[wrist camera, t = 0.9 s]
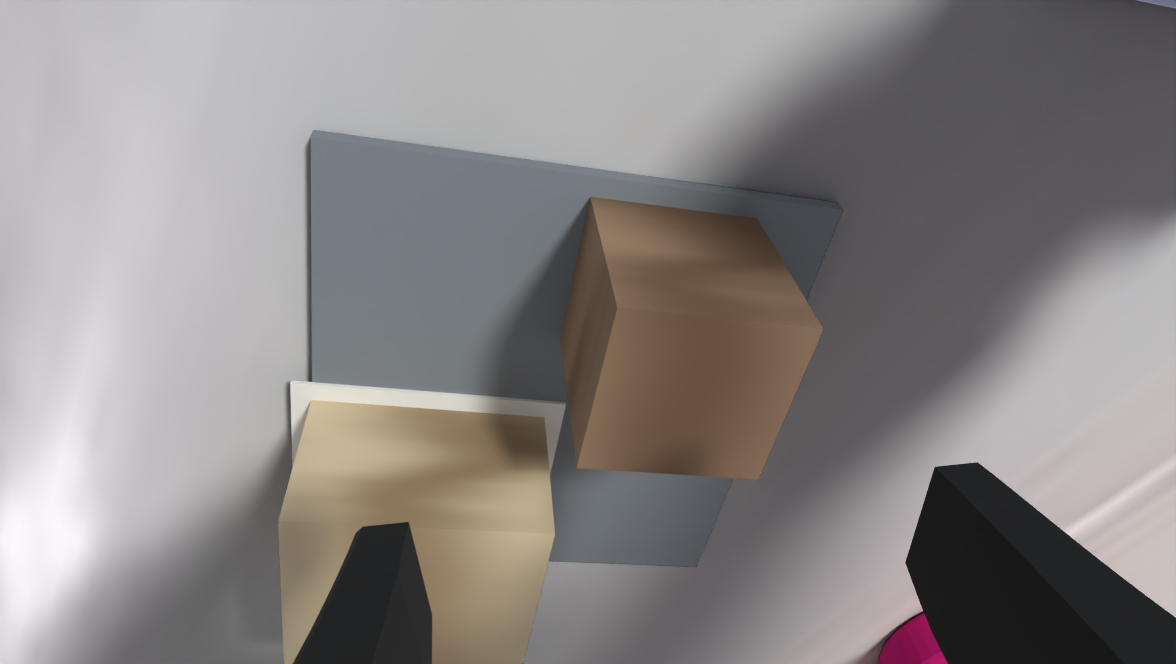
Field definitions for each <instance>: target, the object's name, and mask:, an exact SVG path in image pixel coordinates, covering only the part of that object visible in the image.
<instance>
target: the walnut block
mask: <svg viewBox="0 0 1176 664" xmlns="http://www.w3.org/2000/svg"><path fill="white" fill-rule="evenodd" d="M822 332H823V327H822V326H821V324H820V322H819V321H818V319H817V317H816V316H815V314H814V312H813V311H812V309H811V307H810V306H809V304H808V302H807V301H806V299H805V297H804V296H803V294H802V292H801V291H800V289H799V287H798V286H797V284H796V282H795V281H794V279H793V277H792V276H791V274H790V272H789V271H788V269H787V267H786V266H785V264H784V262H783V261H782V259H781V257H780V256H779V254H778V252H777V251H776V249H775V247H774V246H773V244H772V242H771V241H770V239H769V237H768V236H767V234H766V232H765V231H764V229H763V227H762V226H761V224H760V222H759V221H758V219H757V218H749V217H742V216H734V215H726V214H719V213H711V212H704V211H696V210H688V209H681V208H673V207H665V206H658V205H650V204H643V203H635V202H627V201H620V200H612V199H605V198H597V197H590V200H589V205H588V210H587V215H586V219H585V224H584V229H583V234H582V238H581V243H580V248H579V253H578V257H577V262H576V267H575V272H574V276H573V281H572V286H571V291H570V295H569V300H568V305H567V310H566V314H565V319H564V324H563V329H562V333H561V338H560V344H561V351H562V359H563V367H564V374H565V382H566V390H567V398H568V405H569V413H570V421H571V428H572V436H573V444H574V451H575V459H576V467H577V468H581V469H597V470H613V471H629V472H645V473H661V474H677V475H693V476H709V477H724V478H740V479H756V480H758V479H759V476H760V474H761V472H762V469H763V467H764V465H765V463H766V460H767V458H768V456H769V453H770V451H771V449H772V446H773V444H774V442H775V440H776V437H777V435H778V433H779V430H780V428H781V426H782V423H783V421H784V419H785V417H786V414H787V412H788V410H789V407H790V405H791V403H792V400H793V398H794V396H795V394H796V391H797V389H798V387H799V384H800V382H801V380H802V377H803V375H804V373H805V371H806V368H807V366H808V364H809V361H810V359H811V357H812V355H813V352H814V350H815V348H816V345H817V343H818V341H819V338H820V336H821V334H822Z"/></svg>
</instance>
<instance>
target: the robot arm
mask: <svg viewBox="0 0 1176 664" xmlns="http://www.w3.org/2000/svg"><path fill="white" fill-rule="evenodd" d="M1137 1H1142V2H1146V3H1151V4H1156V5H1161V6H1165V7H1170V8H1175V9H1176V0H1137ZM905 563H906V565H907V568H908V571H909V574H910V576H911V579H912V582H913V585H914V587H915V590H916V593H917V596H918V598H919V601H920V604H921V606H922V609H923V611H924V614H925V616H926V619H927V621H928V624H929V626H930V629H931V631H932V634H933V636H934V638H935V640H936V641H937V643H938V645H939V647H940V649H941V651H942V653H943V655H944V657H945V659H946V661H947V663H948V664H1176V618H1175V617H1174V616H1173V615H1171V614H1170V613H1169V612H1167V611H1166V610H1164V609H1163V608H1162V607H1160V606H1159V605H1158V604H1156V603H1155V602H1154V601H1152V600H1151V599H1150V598H1148V597H1147V596H1146V595H1144V594H1143V593H1142V592H1140V591H1139V590H1138V589H1136V588H1135V587H1134V586H1132V585H1131V584H1130V583H1129V582H1127V581H1126V580H1125V579H1123V578H1122V577H1121V576H1119V575H1118V574H1117V573H1116V572H1114V571H1113V570H1112V569H1110V568H1109V567H1108V566H1107V565H1105V564H1104V563H1103V562H1101V561H1100V560H1099V559H1098V558H1096V557H1095V556H1094V555H1093V554H1091V553H1090V552H1089V551H1087V550H1086V549H1085V548H1084V547H1082V546H1081V545H1080V544H1079V543H1077V542H1076V541H1075V540H1074V539H1072V538H1071V537H1070V536H1069V535H1067V534H1066V533H1065V532H1064V531H1062V530H1061V529H1060V528H1059V527H1058V526H1056V525H1055V524H1054V523H1053V522H1051V521H1050V520H1049V519H1048V518H1046V517H1045V516H1044V515H1043V514H1041V513H1040V512H1039V511H1038V510H1036V509H1035V508H1034V507H1033V506H1032V505H1030V504H1029V503H1028V502H1027V501H1025V500H1024V499H1023V498H1022V497H1020V496H1019V495H1018V494H1017V493H1016V492H1014V491H1013V490H1012V489H1011V488H1009V487H1008V486H1007V485H1006V484H1004V483H1003V482H1002V481H1001V480H999V479H998V478H997V477H996V476H994V475H993V474H992V473H990V472H989V471H988V470H987V469H985V468H984V467H983V466H982V465H980V464H979V463H978V462H977V463H968V464H958V465H949V466H939V467H935V468H934V471H933V475H932V478H931V481H930V484H929V488H928V491H927V494H926V497H925V501H924V504H923V507H922V510H921V514H920V517H919V520H918V523H917V527H916V530H915V533H914V536H913V540H912V543H911V546H910V549H909V553H908V556H907V559H906V562H905ZM293 664H432V612H431V608H430V604H429V600H428V596H427V592H426V588H425V584H424V580H423V576H422V572H421V568H420V564H419V560H418V556H417V553H416V549H415V545H414V541H413V537H412V533H411V529H410V525H409V522H402V523H393V524H383V525H373V526H364V527H362V528H361V529H360V530H358V531H357V532H356V533H355V536H354V538H353V541H352V543H351V545H350V548H349V550H348V553H347V555H346V557H345V559H344V562H343V564H342V566H341V568H340V571H339V573H338V575H337V577H336V579H335V581H334V584H333V586H332V588H331V590H330V592H329V594H328V596H327V598H326V600H325V602H324V604H323V606H322V608H321V610H320V612H319V614H318V616H317V618H316V620H315V622H314V624H313V626H312V628H311V630H310V632H309V634H308V636H307V638H306V640H305V642H304V643H303V645H302V647H301V649H300V651H299V653H298V655H297V656H296V658H295V660H294V662H293Z"/></svg>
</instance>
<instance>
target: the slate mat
mask: <svg viewBox="0 0 1176 664" xmlns="http://www.w3.org/2000/svg"><path fill="white" fill-rule="evenodd" d="M590 197H597V198H605V199H612V200H620V201H627V202H635V203H643V204H650V205H658V206H665V207H673V208H681V209H688V210H696V211H704V212H711V213H719V214H726V215H734V216H742V217H749V218H757V219H758V221H759V222H760V224H761V226H762V227H763V229H764V231H765V232H766V234H767V236H768V237H769V239H770V241H771V242H772V244H773V246H774V247H775V249H776V251H777V252H778V254H779V256H780V257H781V259H782V261H783V262H784V264H785V266H786V267H787V269H788V271H789V272H790V274H791V276H792V277H793V279H794V281H795V282H796V284H797V286H798V287H799V289H800V291H801V292H802V294H803V296H804V297H805V299H807V297H808V294H809V292H810V290H811V287H812V285H813V282H814V280H815V277H816V275H817V272H818V270H819V268H820V265H821V263H822V260H823V258H824V255H825V253H826V251H827V248H828V246H829V243H830V241H831V238H832V236H833V233H834V231H835V229H836V226H837V224H838V221H839V219H840V216H841V214H842V212H843V209H842V208H841V207H840V206H839V204H838V203H837V202H830V201H823V200H815V199H808V198H801V197H794V196H787V195H779V194H772V193H765V192H758V191H750V190H743V189H736V188H729V187H721V186H714V185H707V184H700V183H693V182H685V181H678V180H671V179H664V178H656V177H649V176H642V175H635V174H628V173H620V172H613V171H606V170H599V169H591V168H584V167H577V166H570V165H562V164H555V163H548V162H541V161H534V160H526V159H519V158H512V157H505V156H497V155H490V154H483V153H476V152H469V151H461V150H454V149H447V148H440V147H432V146H425V145H418V144H411V143H403V142H396V141H389V140H382V139H375V138H367V137H360V136H353V135H346V134H338V133H331V132H324V131H317V130H314V131H313V133H312V136H311V302H312V382H304V381H291V382H290V393H291V433H292V468H293V465H294V461H295V457H296V454H297V450H298V446H299V443H300V439H301V436H302V432H303V428H304V425H305V421H306V417H307V414H308V410H309V406H310V403H311V400H320V401H333V402H346V403H360V404H373V405H386V406H400V407H413V408H426V409H440V410H453V411H466V412H480V413H493V414H506V415H520V416H533V417H545V428H546V439H547V450H548V461H549V472H550V483H551V494H552V505H553V516H554V527H555V537H554V541H553V545H552V549H551V553H550V557H549V561H556V562H581V563H607V564H632V565H658V566H683V567H697V565H698V563H699V560H700V558H701V555H702V553H703V550H704V548H705V546H706V543H707V541H708V538H709V536H710V533H711V531H712V529H713V526H714V524H715V521H716V519H717V516H718V514H719V511H720V509H721V507H722V504H723V502H724V499H725V497H726V494H727V492H728V490H729V487H730V485H731V482H732V480H733V478H724V477H709V476H693V475H677V474H661V473H645V472H629V471H613V470H597V469H581V468H577V467H576V459H575V451H574V444H573V436H572V428H571V421H570V413H569V405H568V398H567V390H566V382H565V374H564V367H563V359H562V351H561V344H560V338H561V333H562V329H563V324H564V319H565V314H566V310H567V305H568V300H569V295H570V291H571V286H572V281H573V276H574V272H575V267H576V262H577V257H578V253H579V248H580V243H581V238H582V234H583V229H584V224H585V219H586V215H587V210H588V205H589V200H590Z"/></svg>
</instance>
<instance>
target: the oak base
mask: <svg viewBox="0 0 1176 664" xmlns="http://www.w3.org/2000/svg"><path fill="white" fill-rule="evenodd" d="M402 522H409V525H410V529H411V533H412V537H413V541H414V545H415V549H416V553H417V556H418V560H419V564H420V568H421V572H422V576H423V580H424V584H425V588H426V592H427V596H428V600H429V604H430V608H431V612H432V664H523V662H524V658H525V654H526V650H527V646H528V642H529V638H530V634H531V630H532V626H533V622H534V618H535V613H536V609H537V605H538V601H539V597H540V593H541V589H542V585H543V581H544V577H545V573H546V569H547V565H548V561H549V557H550V553H551V549H552V545H553V541H554V537H555V527H554V516H553V505H552V494H551V483H550V472H549V461H548V450H547V439H546V428H545V417H533V416H520V415H506V414H493V413H480V412H466V411H453V410H440V409H426V408H413V407H400V406H386V405H373V404H360V403H346V402H333V401H320V400H311V403H310V406H309V410H308V414H307V417H306V421H305V425H304V428H303V432H302V436H301V439H300V443H299V446H298V450H297V454H296V457H295V461H294V465H293V468H292V472H291V476H290V479H289V483H288V486H287V490H286V494H285V497H284V501H283V505H282V508H281V512H280V516H279V519H278V536H279V560H280V585H281V609H282V633H283V658H284V664H293V662H294V660H295V658H296V656H297V655H298V653H299V651H300V649H301V647H302V645H303V643H304V642H305V640H306V638H307V636H308V634H309V632H310V630H311V628H312V626H313V624H314V622H315V620H316V618H317V616H318V614H319V612H320V610H321V608H322V606H323V604H324V602H325V600H326V598H327V596H328V594H329V592H330V590H331V588H332V586H333V584H334V581H335V579H336V577H337V575H338V573H339V571H340V568H341V566H342V564H343V562H344V559H345V557H346V555H347V553H348V550H349V548H350V545H351V543H352V541H353V538H354V536H355V533H356V532H357V531H358V530H360V529H361V528H362V527H364V526H373V525H383V524H393V523H402Z"/></svg>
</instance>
